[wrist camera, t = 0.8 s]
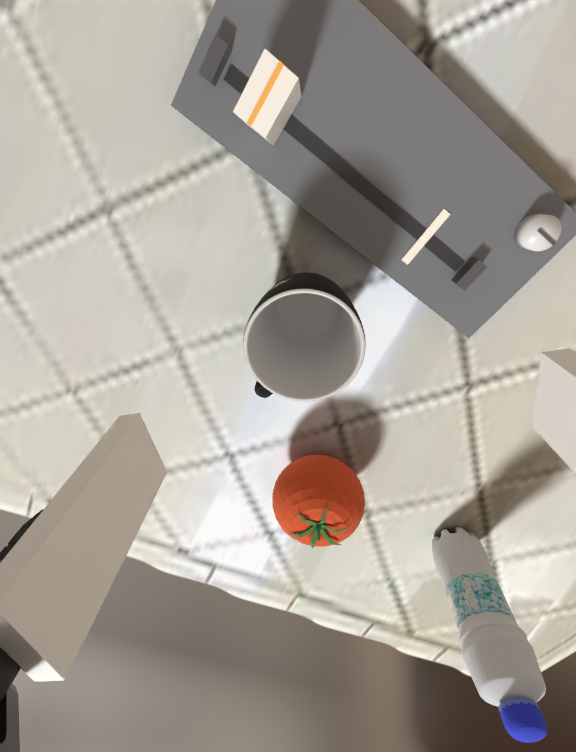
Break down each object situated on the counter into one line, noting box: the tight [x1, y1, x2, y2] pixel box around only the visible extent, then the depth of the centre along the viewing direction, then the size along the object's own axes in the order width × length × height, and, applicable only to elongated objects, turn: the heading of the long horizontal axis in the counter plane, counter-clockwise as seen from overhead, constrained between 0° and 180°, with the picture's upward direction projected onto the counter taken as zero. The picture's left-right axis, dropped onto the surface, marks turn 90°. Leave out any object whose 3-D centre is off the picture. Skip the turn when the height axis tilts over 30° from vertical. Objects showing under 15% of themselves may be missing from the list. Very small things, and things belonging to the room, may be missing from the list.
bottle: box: [432, 527, 547, 742], centre depth 40 cm, size 7×7×20 cm
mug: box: [243, 273, 365, 401], centre depth 31 cm, size 12×9×10 cm
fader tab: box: [233, 49, 301, 146], centre depth 24 cm, size 2×4×5 cm, turn 145°
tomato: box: [273, 455, 365, 549], centre depth 40 cm, size 10×10×10 cm
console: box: [171, 0, 576, 338], centre depth 28 cm, size 31×12×4 cm, turn 55°
